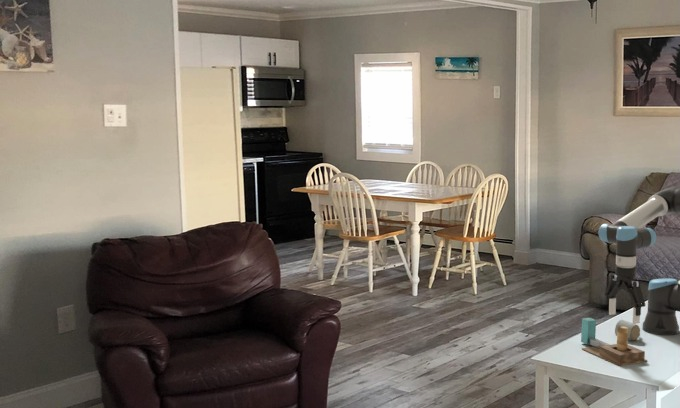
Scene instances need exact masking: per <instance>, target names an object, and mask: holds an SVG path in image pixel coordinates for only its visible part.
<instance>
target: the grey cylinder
mask: <svg viewBox="0 0 680 408" xmlns="http://www.w3.org/2000/svg"><path fill="white" fill-rule="evenodd" d="M618 327H627V328H628V341H636V340H637V339H639V338H640V336H641V328H640V326H639V325H638V324H633V322H630V321H627V320H624V319H619V320H618V321H617V323H616V324H615V328H614V334H615V336H616V337H617V328H618Z"/></svg>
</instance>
